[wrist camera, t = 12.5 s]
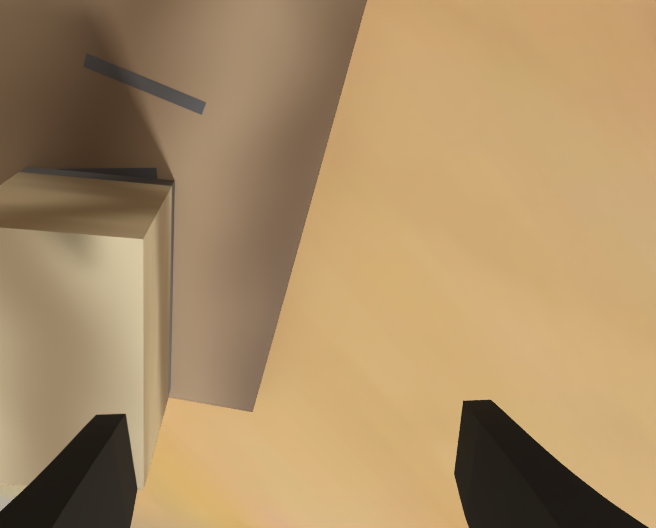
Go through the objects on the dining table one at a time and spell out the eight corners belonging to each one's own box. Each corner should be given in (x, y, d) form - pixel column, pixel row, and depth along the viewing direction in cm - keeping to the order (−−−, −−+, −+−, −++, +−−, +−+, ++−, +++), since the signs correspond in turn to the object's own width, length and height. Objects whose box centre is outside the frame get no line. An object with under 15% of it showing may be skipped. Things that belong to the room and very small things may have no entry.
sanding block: (175, 180, 19) (143, 239, 15) (170, 388, 22) (143, 489, 18) (26, 166, 19) (-54, 223, 14) (43, 381, 22) (-18, 484, 17)
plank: (438, -281, 16) (450, -301, 15) (253, 393, 24) (252, 412, 23) (-49, -476, 14) (-77, -517, 13) (-70, 334, 22) (-88, 352, 21)
